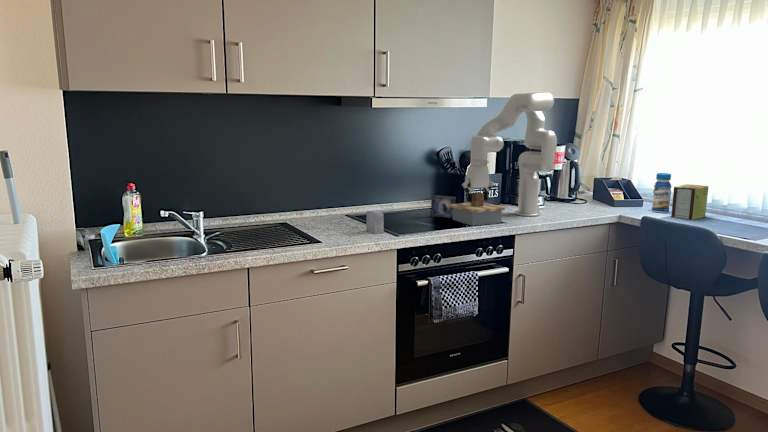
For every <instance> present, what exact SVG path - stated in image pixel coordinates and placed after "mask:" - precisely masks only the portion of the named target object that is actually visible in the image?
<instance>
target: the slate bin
mask: <svg viewBox="0 0 768 432" xmlns="http://www.w3.org/2000/svg"><path fill="white" fill-rule="evenodd" d="M502 212H503V210H500V211H489V212H478V213H470V212H467V211H463V210H460V209H456V208H453V217H452V220H453V221H455V222H459V223H462V224H465V225H469V226H471V227H474V226H484V225H494V224H501V223H502V218H503V217H502V216H503V215H502Z"/></svg>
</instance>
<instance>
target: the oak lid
mask: <svg viewBox="0 0 768 432" xmlns="http://www.w3.org/2000/svg"><path fill="white" fill-rule="evenodd" d="M471 193H472V202H461V203H455V204H450V207H453V208H456V209H460V210H463V211H467V212H470V213H478V212H489V211H500V210H502V211H506V207H504V206H500V205H497V204H492V203H488V202H486V201H485V200H484V193H483V192H481V191H480V192H478V191H477V192H476V191H475V192H471ZM484 201H485V202H484Z"/></svg>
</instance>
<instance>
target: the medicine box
mask: <svg viewBox="0 0 768 432" xmlns="http://www.w3.org/2000/svg"><path fill="white" fill-rule="evenodd" d="M365 216H366V217H365V220H366V223H365V224H366V225H365V226H366V227H365V228H366V231H367V232H370V233H372V234H376V235H377V234H384V231H385V230H384V228H385V227H384V225H385V224H384V213H383V212H382V211H381V212H380V211H377V210H368V211H366V215H365Z"/></svg>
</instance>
